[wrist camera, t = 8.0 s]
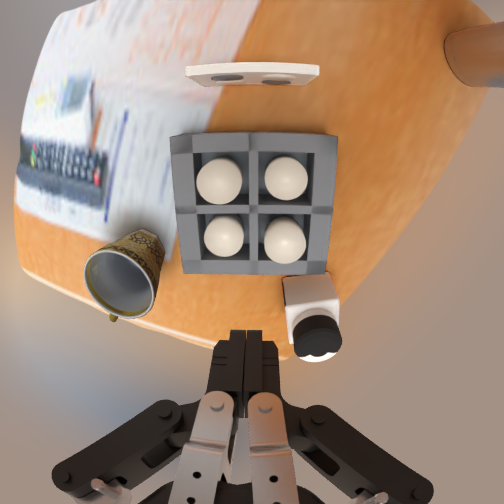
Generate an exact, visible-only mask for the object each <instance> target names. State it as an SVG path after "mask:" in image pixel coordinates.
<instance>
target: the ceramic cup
mask: <svg viewBox="0 0 504 504" xmlns="http://www.w3.org/2000/svg"><path fill="white" fill-rule="evenodd" d="M164 256H165V250H164V248H163V246H162V244H161V242H160V240H159V238H158V236H157V235H155V234H153V233H151V232H148V231H146V230H144V229H140V230H138V231H135V232H133V233H130V234H128V235H126V236H124V237H122V238H121V239H119V240H117V241H116V242H114V243H111V244H108V245H106V246H105V247H103V248H101V249H99V250H98V251H96V252H95V253H93V254H92V255H91V256H90V257H89V258H88V259H87V261H86V263H85V266H84V280H85V284H86V287H87V289H88V291H89V293H90V295H91V296H92V298H93V299H94V300H95V301H96V302H97V303H98V304H99V305H100V306H101V307H102V308H103V309H105V310H106V311H107V312H109V313H110V316H109V317H110V320H111V321H112V322H116V320H117V318H118V317H121V318H127V319H135V318H139V317H142V316H144V315H146V314H147V313H148V312H149V311H150V310H151V308H152V307H153V304H154V301H155V297H156V293H157V289H158V284H159V277H160V271H161V267H162V263H163V259H164Z"/></svg>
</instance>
